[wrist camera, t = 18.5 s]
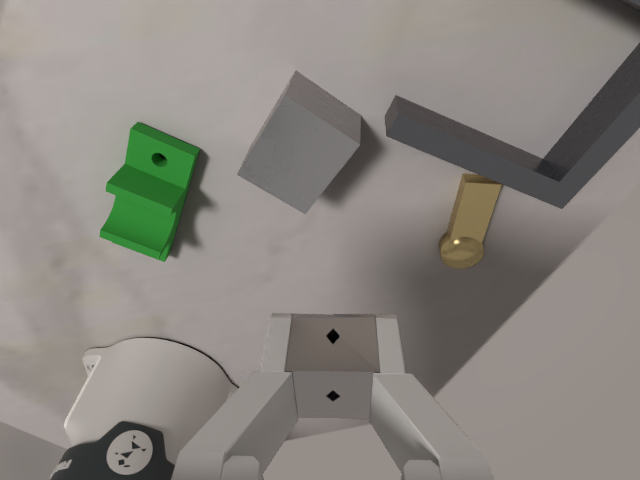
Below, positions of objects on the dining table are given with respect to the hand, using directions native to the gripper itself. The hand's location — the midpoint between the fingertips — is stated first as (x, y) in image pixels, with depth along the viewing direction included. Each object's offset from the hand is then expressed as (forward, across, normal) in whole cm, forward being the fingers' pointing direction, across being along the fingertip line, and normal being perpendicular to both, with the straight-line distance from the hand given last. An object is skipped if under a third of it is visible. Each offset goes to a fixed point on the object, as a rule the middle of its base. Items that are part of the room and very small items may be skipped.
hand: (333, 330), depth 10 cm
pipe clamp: (+18, +19, +9) cm, 27 cm away
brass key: (+19, -10, +9) cm, 24 cm away
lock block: (+20, +2, +3) cm, 20 cm away
